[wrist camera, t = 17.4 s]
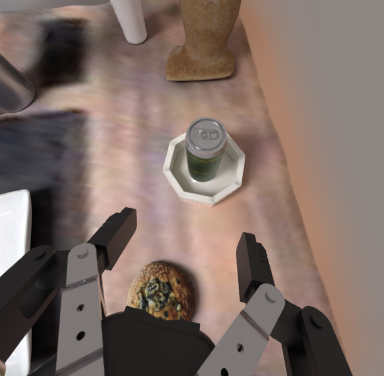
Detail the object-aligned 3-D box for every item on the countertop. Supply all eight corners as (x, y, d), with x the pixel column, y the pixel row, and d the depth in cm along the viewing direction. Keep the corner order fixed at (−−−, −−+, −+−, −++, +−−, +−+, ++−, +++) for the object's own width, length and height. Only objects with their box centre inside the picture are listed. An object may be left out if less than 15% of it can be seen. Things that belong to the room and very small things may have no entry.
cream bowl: (193, 219, 31) (193, 217, 27) (156, 161, 34) (151, 152, 30) (252, 180, 33) (259, 173, 29) (211, 128, 36) (213, 115, 32)
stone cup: (229, 44, 42) (248, -57, 27) (234, 84, 39) (259, -5, 24) (167, 47, 42) (152, -52, 27) (167, 87, 39) (151, 0, 24)
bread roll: (210, 301, 28) (208, 318, 23) (159, 349, 27) (146, 377, 23) (167, 246, 30) (157, 251, 26) (120, 290, 30) (101, 303, 25)
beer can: (216, 157, 33) (228, 115, 21) (216, 183, 32) (229, 155, 20) (188, 156, 33) (185, 114, 22) (187, 183, 32) (183, 154, 20)
